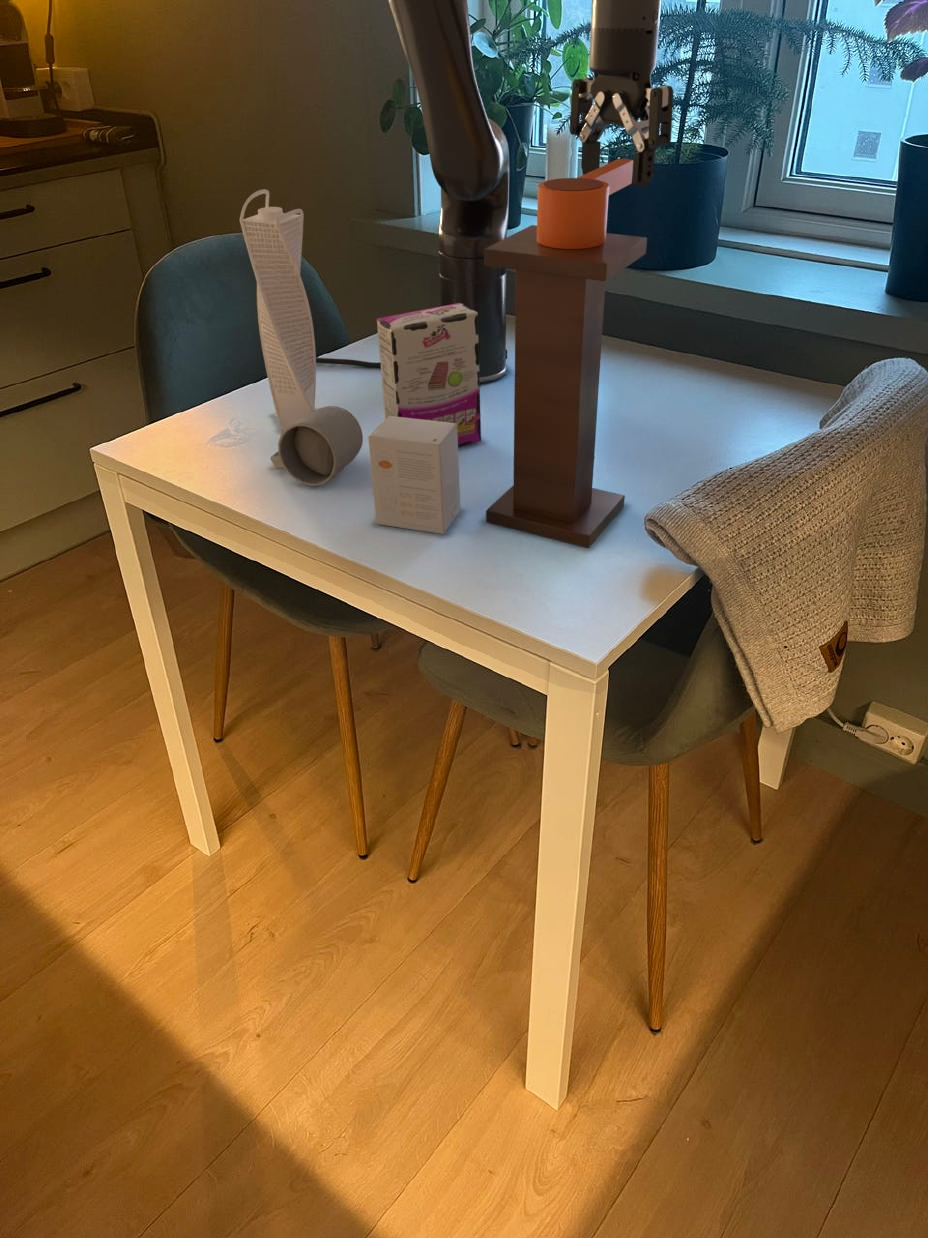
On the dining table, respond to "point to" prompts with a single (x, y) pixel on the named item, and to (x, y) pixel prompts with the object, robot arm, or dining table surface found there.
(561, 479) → the tall walnut stand
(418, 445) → the small box
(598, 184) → the orange measuring cup
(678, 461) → the dining table surface
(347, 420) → the ceramic mug
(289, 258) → the skyscraper
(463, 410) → the candy bar box
